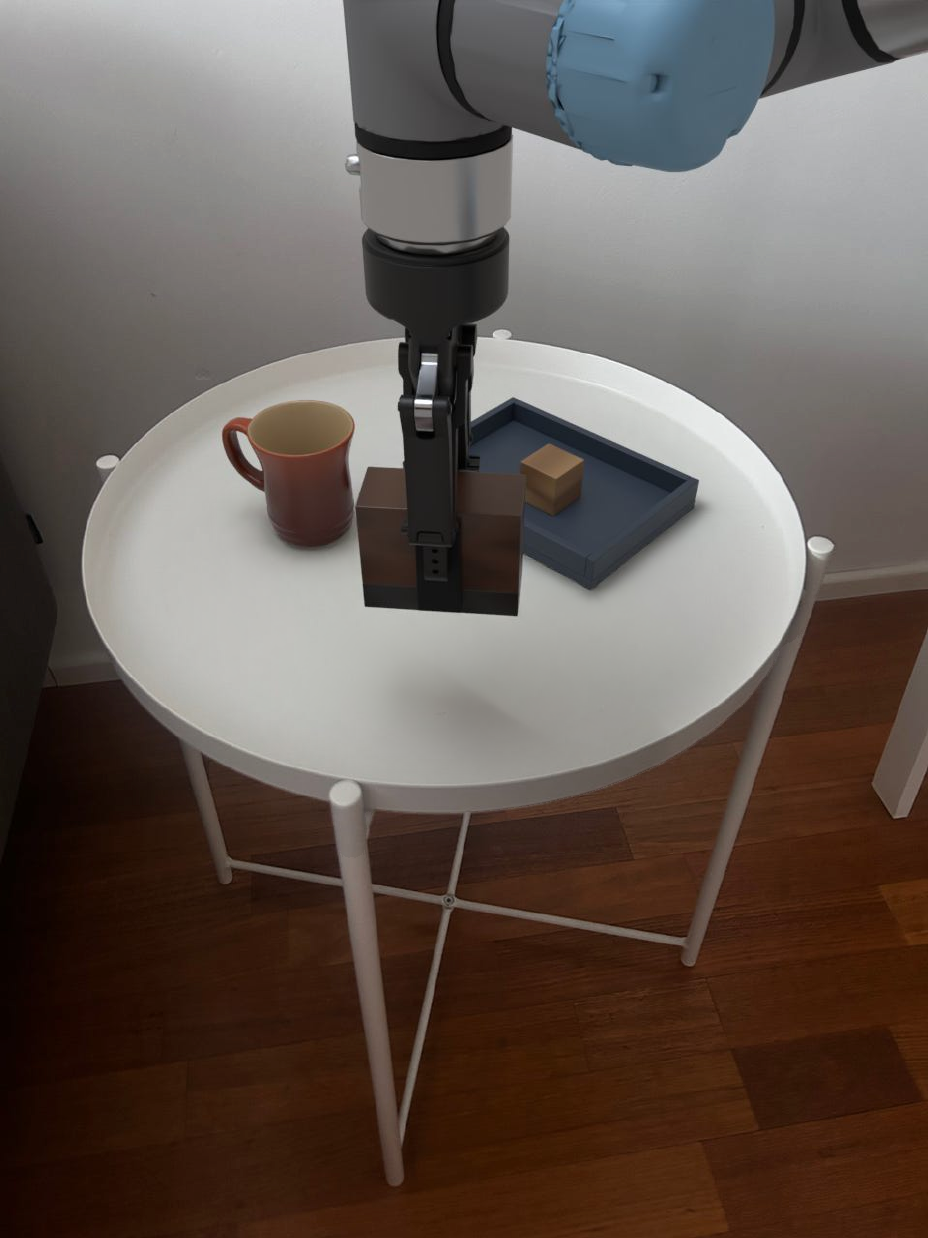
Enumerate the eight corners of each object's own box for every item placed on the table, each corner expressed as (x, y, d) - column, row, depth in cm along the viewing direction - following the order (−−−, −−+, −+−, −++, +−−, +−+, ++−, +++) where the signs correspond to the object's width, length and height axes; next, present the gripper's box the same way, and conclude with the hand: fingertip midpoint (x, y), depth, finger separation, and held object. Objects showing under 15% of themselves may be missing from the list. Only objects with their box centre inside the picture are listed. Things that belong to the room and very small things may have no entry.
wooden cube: (581, 497, 91) (584, 459, 88) (553, 516, 89) (556, 478, 86) (546, 479, 93) (548, 442, 90) (518, 498, 91) (520, 461, 88)
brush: (522, 573, 68) (526, 474, 63) (517, 616, 65) (521, 515, 59) (375, 565, 69) (367, 465, 64) (364, 607, 66) (354, 506, 60)
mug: (379, 511, 91) (372, 411, 84) (334, 568, 85) (323, 465, 78) (263, 482, 94) (247, 384, 87) (212, 535, 88) (191, 434, 81)
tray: (694, 507, 91) (699, 479, 89) (590, 590, 83) (594, 561, 81) (511, 422, 102) (513, 396, 100) (403, 488, 94) (402, 461, 92)
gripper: (389, 166, 58) (407, 502, 73) (327, 296, 45) (365, 671, 60) (520, 170, 57) (510, 508, 73) (495, 303, 44) (490, 680, 60)
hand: (444, 581), depth 66 cm, fingers closed on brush, 4 cm apart
